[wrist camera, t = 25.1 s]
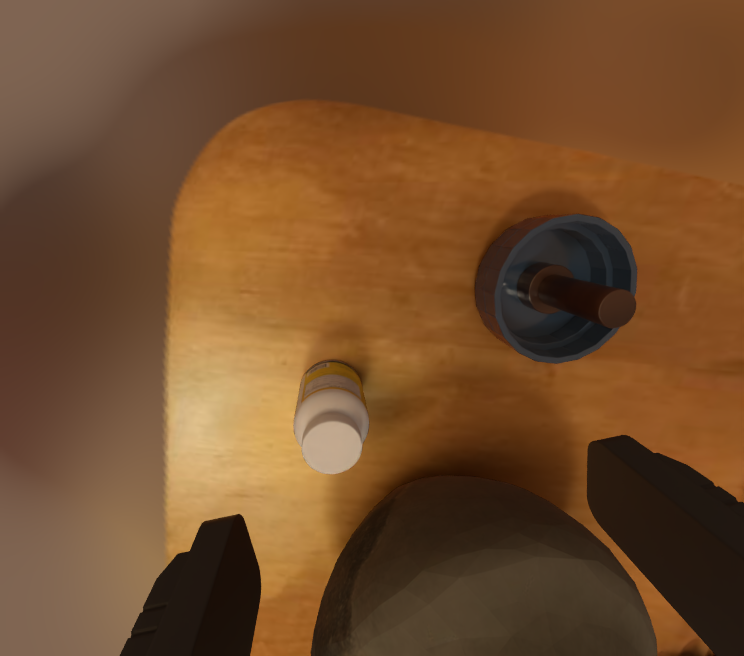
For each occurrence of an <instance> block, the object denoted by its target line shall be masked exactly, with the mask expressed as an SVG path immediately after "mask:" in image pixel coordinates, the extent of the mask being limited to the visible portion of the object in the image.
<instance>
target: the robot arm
mask: <svg viewBox="0 0 744 656" xmlns="http://www.w3.org/2000/svg"><path fill="white" fill-rule="evenodd" d="M587 499H588V504H589V507H590V509H591V512H592V514H593V516H594V518H595V519H596V521H597V522H598V524H599V525H600V526H601V527H602V528H603V530H604V531H605V532H606V533H607V534H608V535H609V536H610V537H611V539H612V540H613V541H614V542H615V543H616V544H617V545H618V546H619V547H620V549H621V550H622V551H623V552H624V553H625V554H626V555H627V556H628V558H629V559H630V560H631V561H632V562H633V563H634V564H635V565H636V566H637V568H638V569H639V570H640V571H641V572H642V573H643V574H644V575H645V577H646V578H647V579H648V580H649V581H650V582H651V583H652V584H653V585H654V587H655V588H656V589H657V590H658V591H659V592H660V593H661V594H662V596H663V597H664V598H665V599H666V600H667V601H668V602H669V603H670V605H671V606H672V607H673V608H674V609H675V610H676V611H677V612H678V613H679V615H680V616H681V617H682V618H683V619H684V620H685V621H686V622H687V624H688V625H689V626H690V627H691V628H692V629H693V630H694V631H695V632H696V634H697V635H698V636H699V637H700V638H701V639H702V640H703V641H704V643H705V644H706V645H707V646H708V647H709V648H710V649H711V650H712V651H713V653H714V654H715V655H716V656H744V503H743V502H738V501H737V500H736V498H735V497H734V496H732V495H731V494H729V493H728V492H727V491H725V490H724V489H722V488H721V487H719V486H718V487H716V486H715V485H714V483H713V482H712V481H710V480H709V479H707V478H706V477H704V476H703V475H701V474H700V473H698V472H697V471H696V470H694V469H693V468H691V467H690V466H688V465H686V464H684V463H681V462H679V461H676V460H674V459H672V458H669V457H667V456H665V455H662V454H660V453H653V452H651V451H650V450H649V449H647V448H646V447H644V446H643V445H641V444H640V443H639V442H637V441H636V440H634V439H633V438H631V437H630V436H627V435H621V436H616V437H611V438H606V439H601V440H597V441H592V442H591V443H590V444H589V446H588V457H587ZM260 596H261V576H260V569H259V565H258V562H257V559H256V555H255V552H254V549H253V546H252V543H251V540H250V536H249V533H248V530H247V527H246V524H245V521H244V518H243V517H242V515H240V514H237V515H232V516H227V517H222V518H218V519H213V520H208V521H205V522H203V523H202V524H201V526H200V528H199V530H198V533H197V535H196V537H195V540H194V542H193V545H192V547H191V549H190V551H189V552H184V553H179V554H177V555H176V557H175V558H174V559H173V560H172V561H171V563H170V564H169V565H168V566H167V567H166V568H165V570H164V571H163V572H162V573H161V574H160V576H159V577H158V578H157V579H156V581H155V583H154V585H153V587H152V590H151V592H150V594H149V596H148V598H147V600H146V602H145V604H144V606H143V612H142V613H140V614H139V617H138V619H137V621H136V623H135V625H134V627H133V629H132V631H131V638H128V640H127V641H126V644H125V646H124V648H123V650H122V652H121V654H120V656H250V653H251V647H252V642H253V636H254V631H255V625H256V620H257V614H258V609H259V603H260Z"/></svg>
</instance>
